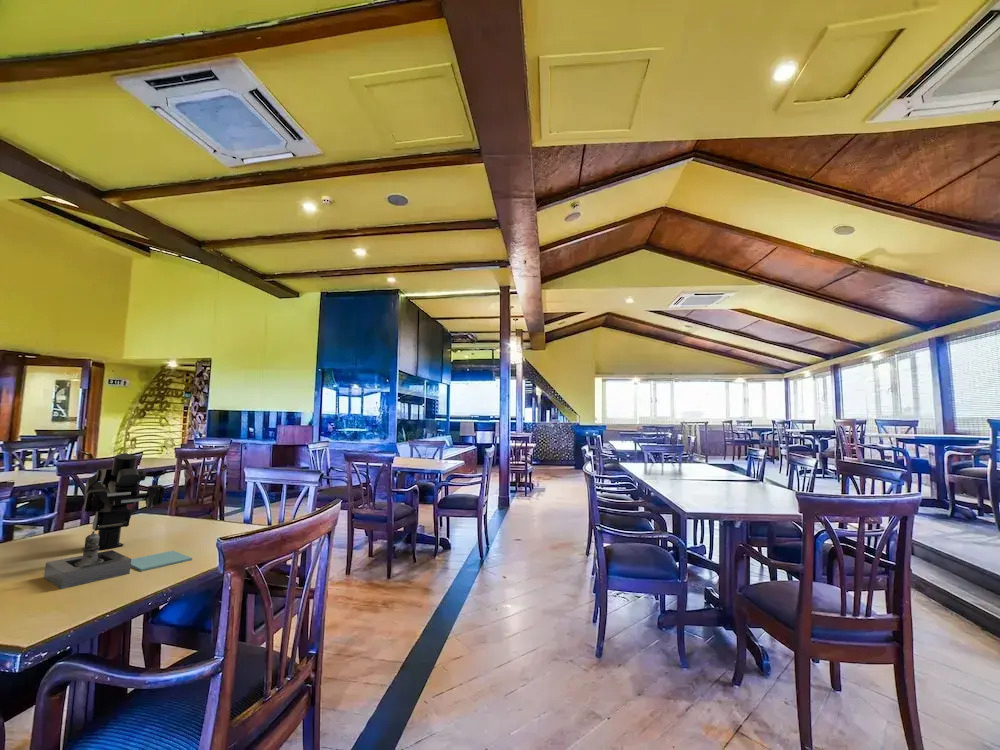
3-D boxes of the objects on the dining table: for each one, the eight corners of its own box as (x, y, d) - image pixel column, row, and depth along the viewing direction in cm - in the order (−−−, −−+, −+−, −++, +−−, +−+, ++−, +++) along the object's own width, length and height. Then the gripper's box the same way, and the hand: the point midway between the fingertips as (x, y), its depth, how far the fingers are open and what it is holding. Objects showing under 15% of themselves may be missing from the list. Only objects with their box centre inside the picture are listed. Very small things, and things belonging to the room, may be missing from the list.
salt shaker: (68, 576, 117) (75, 531, 119) (96, 570, 123) (102, 527, 124) (77, 581, 115) (84, 534, 116) (105, 574, 120) (111, 530, 121)
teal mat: (122, 562, 129) (123, 560, 130) (172, 552, 141) (173, 550, 141) (141, 571, 123) (141, 569, 123) (192, 559, 134) (192, 557, 134)
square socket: (43, 577, 116) (46, 562, 117) (110, 563, 128) (112, 550, 129) (60, 589, 109) (63, 572, 109) (129, 573, 121) (131, 558, 121)
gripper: (87, 467, 133) (94, 485, 123) (161, 463, 147) (173, 480, 137) (81, 501, 133) (87, 522, 124) (155, 494, 148) (167, 513, 138)
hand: (131, 508), depth 131 cm, fingers open, 9 cm apart
